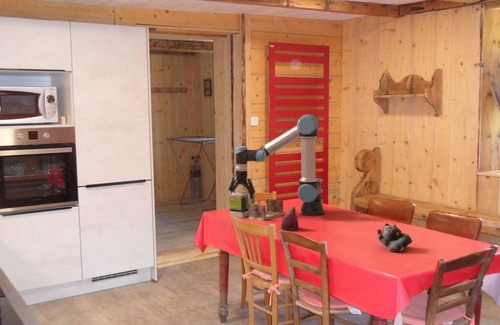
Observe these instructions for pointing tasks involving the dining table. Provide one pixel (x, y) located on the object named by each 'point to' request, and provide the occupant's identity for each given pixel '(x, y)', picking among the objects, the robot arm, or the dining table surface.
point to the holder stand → (272, 210)
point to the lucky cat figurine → (393, 238)
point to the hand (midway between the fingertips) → (241, 202)
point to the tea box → (240, 204)
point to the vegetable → (290, 221)
